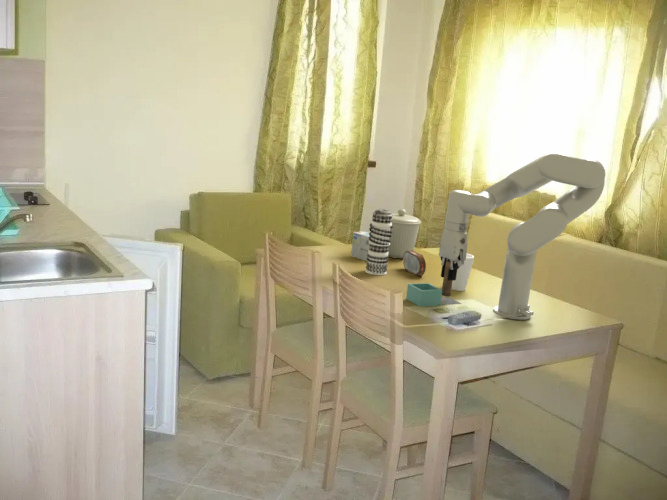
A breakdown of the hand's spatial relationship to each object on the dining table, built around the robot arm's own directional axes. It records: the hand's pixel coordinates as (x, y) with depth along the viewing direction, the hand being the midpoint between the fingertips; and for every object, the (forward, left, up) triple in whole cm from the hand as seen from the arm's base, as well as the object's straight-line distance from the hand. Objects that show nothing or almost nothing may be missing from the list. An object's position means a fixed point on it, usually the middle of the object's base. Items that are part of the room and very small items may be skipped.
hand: (448, 278), depth 241 cm
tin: (+38, -11, -9) cm, 40 cm away
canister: (+65, -20, -9) cm, 69 cm away
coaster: (0, 0, -9) cm, 9 cm away
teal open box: (0, +9, -9) cm, 13 cm away
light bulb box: (+62, -2, -9) cm, 63 cm away
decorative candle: (+40, +5, -9) cm, 41 cm away
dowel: (0, 0, -6) cm, 6 cm away
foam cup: (+15, -16, -9) cm, 24 cm away
